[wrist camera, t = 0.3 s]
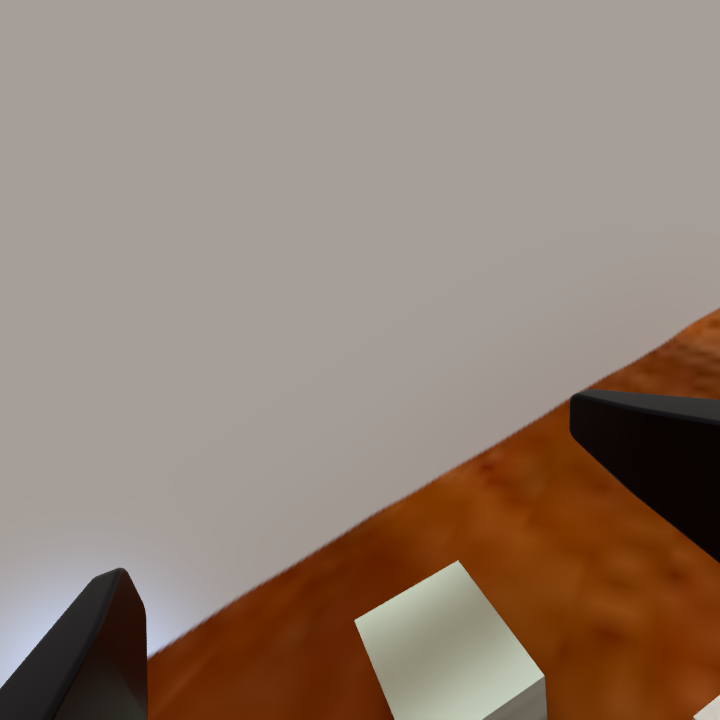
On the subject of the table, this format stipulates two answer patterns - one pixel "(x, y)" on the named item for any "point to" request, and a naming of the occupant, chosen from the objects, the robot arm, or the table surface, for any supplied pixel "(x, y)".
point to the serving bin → (709, 711)
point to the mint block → (450, 655)
